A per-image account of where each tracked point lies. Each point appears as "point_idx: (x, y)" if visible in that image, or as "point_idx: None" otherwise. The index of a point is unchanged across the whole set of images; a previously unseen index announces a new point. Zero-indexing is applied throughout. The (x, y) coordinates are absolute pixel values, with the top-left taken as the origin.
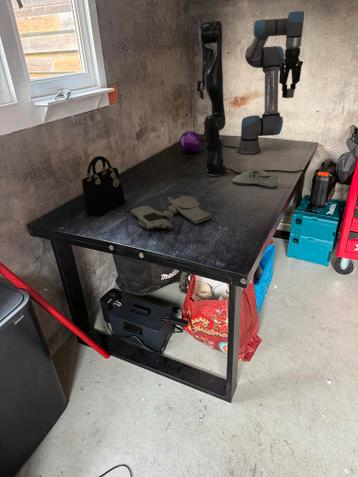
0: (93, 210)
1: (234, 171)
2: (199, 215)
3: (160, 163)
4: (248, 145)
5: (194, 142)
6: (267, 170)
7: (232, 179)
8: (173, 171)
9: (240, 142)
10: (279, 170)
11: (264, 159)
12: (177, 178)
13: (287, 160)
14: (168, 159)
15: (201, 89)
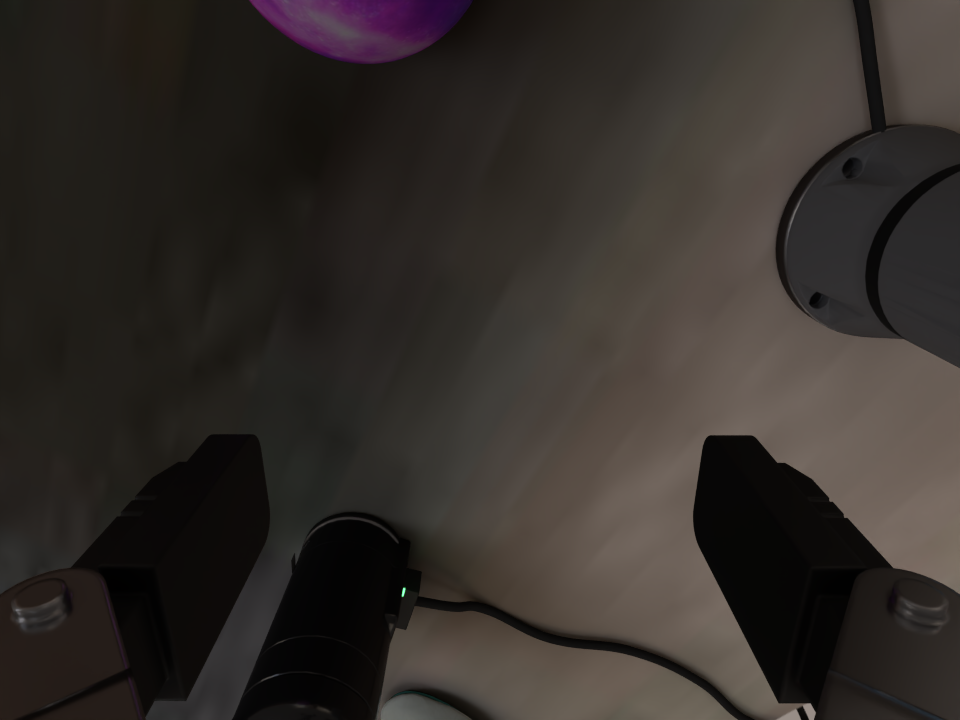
0: None
1: (465, 610)
2: None
3: (17, 135)
4: (857, 321)
5: (365, 57)
6: (648, 660)
7: (383, 712)
8: (104, 387)
9: (858, 217)
10: (701, 687)
11: (811, 468)
12: (109, 518)
13: (909, 553)
14: (107, 45)
15: (45, 704)
